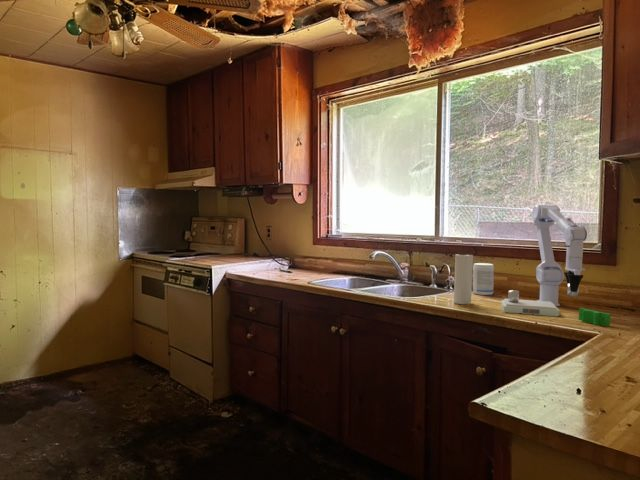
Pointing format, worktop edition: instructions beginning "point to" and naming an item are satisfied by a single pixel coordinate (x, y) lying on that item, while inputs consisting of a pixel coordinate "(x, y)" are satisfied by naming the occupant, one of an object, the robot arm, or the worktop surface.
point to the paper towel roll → (463, 278)
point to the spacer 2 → (571, 292)
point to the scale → (530, 307)
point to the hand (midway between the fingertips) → (572, 290)
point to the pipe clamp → (594, 317)
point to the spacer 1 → (513, 296)
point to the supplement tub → (483, 278)
